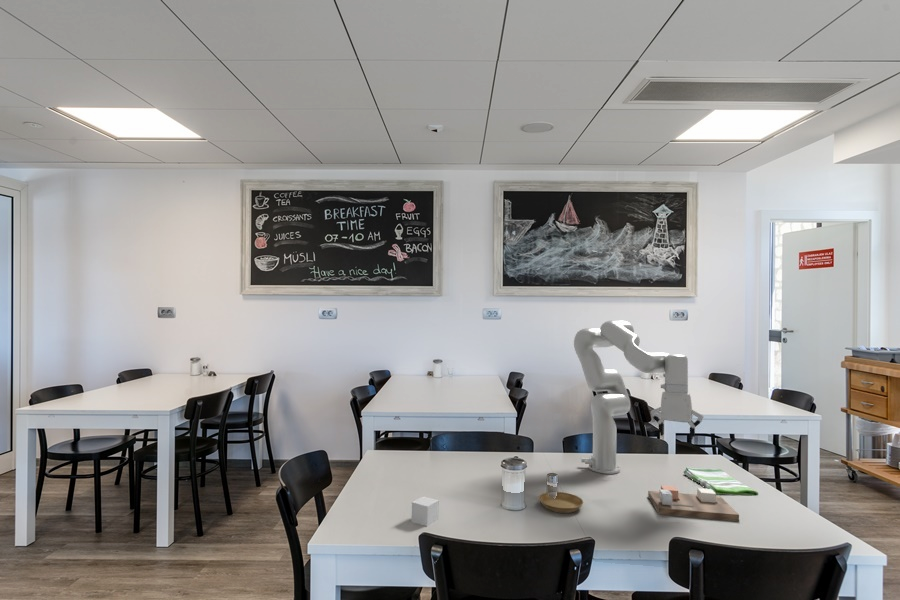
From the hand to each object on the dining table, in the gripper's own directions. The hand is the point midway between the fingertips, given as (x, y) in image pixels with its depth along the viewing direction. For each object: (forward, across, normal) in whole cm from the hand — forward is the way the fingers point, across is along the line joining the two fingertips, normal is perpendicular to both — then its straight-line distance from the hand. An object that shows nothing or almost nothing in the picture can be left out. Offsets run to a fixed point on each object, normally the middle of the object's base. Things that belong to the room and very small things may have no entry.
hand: (676, 436), depth 177 cm
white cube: (+22, -63, -67) cm, 95 cm away
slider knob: (+19, -2, -15) cm, 24 cm away
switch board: (+22, +5, -8) cm, 24 cm away
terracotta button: (+20, -2, -7) cm, 21 cm away
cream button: (+20, +10, -2) cm, 22 cm away
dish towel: (+22, +12, +26) cm, 36 cm away
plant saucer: (+22, -32, -32) cm, 50 cm away
